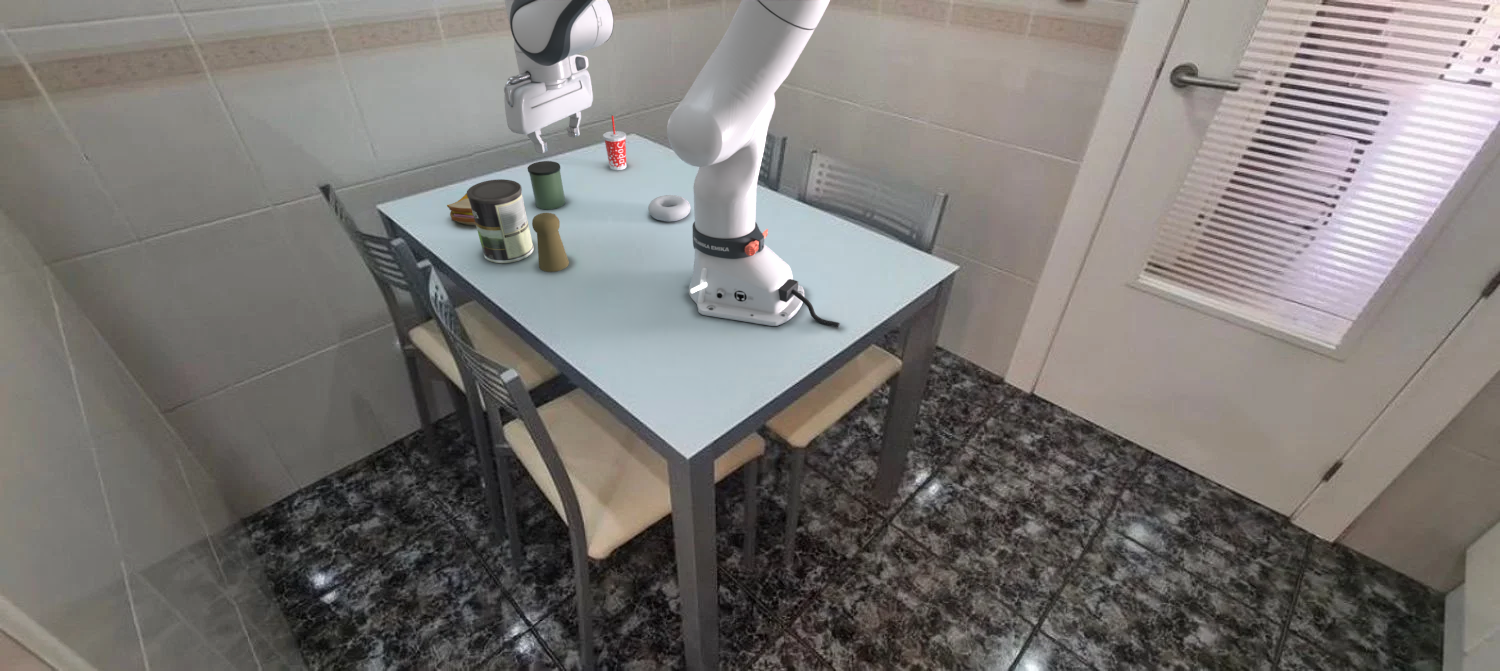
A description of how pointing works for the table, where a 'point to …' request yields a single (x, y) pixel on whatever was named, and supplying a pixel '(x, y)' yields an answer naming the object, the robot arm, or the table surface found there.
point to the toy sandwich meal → (462, 211)
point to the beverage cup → (616, 148)
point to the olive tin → (547, 184)
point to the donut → (669, 208)
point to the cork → (549, 243)
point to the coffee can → (501, 220)
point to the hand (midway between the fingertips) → (558, 143)
